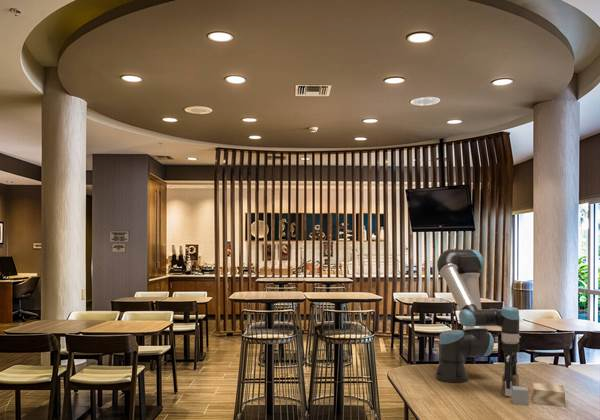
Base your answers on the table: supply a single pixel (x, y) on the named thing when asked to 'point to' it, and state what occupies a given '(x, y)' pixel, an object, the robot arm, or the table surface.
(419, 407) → the table surface
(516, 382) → the walnut block
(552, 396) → the birch block
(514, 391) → the slate cube
